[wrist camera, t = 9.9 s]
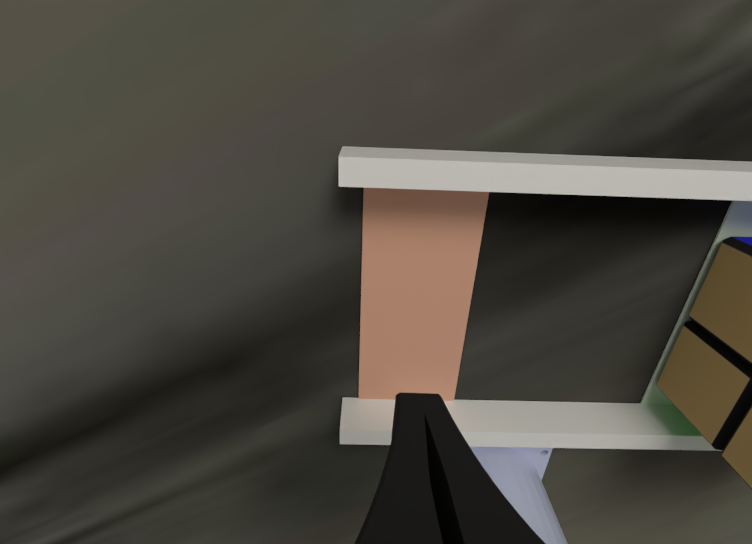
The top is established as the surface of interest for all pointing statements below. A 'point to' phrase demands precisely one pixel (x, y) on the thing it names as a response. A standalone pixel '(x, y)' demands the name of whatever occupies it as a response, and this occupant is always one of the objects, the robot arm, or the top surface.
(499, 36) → the top surface
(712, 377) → the puzzle cube
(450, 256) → the trap channel
